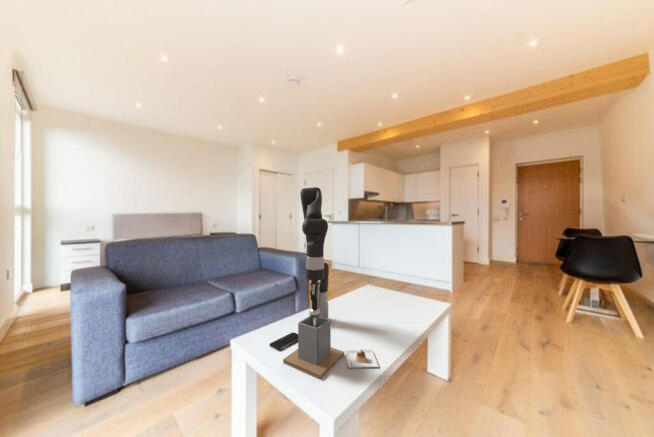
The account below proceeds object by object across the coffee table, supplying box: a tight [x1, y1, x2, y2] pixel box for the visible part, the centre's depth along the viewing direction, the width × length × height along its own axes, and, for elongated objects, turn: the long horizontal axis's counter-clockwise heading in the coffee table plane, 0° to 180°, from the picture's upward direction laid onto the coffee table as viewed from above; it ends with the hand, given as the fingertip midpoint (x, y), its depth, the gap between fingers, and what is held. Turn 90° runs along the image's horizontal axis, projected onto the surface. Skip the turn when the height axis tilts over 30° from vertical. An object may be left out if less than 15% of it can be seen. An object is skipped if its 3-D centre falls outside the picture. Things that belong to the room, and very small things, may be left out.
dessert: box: [344, 348, 380, 369], centre depth 98 cm, size 12×12×5 cm
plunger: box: [308, 307, 320, 327], centre depth 98 cm, size 8×8×17 cm
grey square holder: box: [282, 315, 345, 380], centre depth 98 cm, size 18×18×16 cm
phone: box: [269, 332, 298, 352], centre depth 111 cm, size 8×1×15 cm
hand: (314, 309), depth 98 cm, fingers closed
